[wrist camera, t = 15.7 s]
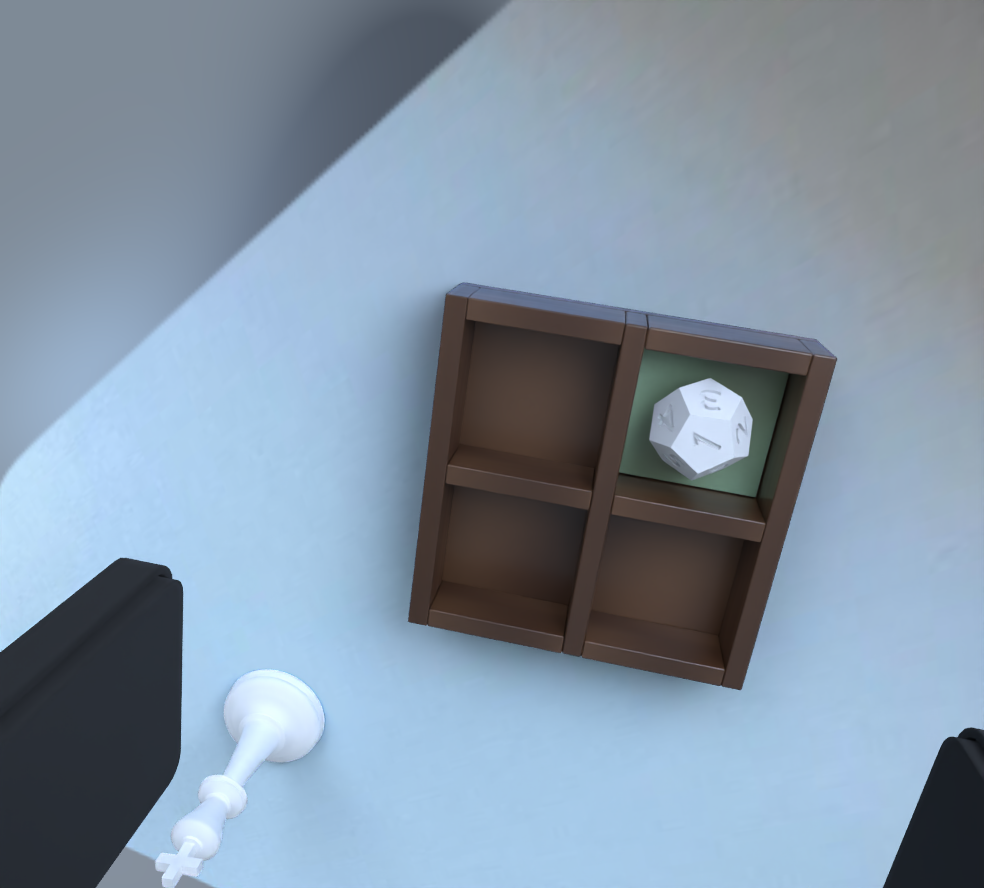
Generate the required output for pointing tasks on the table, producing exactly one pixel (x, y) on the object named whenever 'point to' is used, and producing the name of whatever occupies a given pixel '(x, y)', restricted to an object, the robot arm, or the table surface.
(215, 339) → the table surface
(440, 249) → the table surface
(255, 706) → the chess piece
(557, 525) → the grid
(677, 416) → the game die
